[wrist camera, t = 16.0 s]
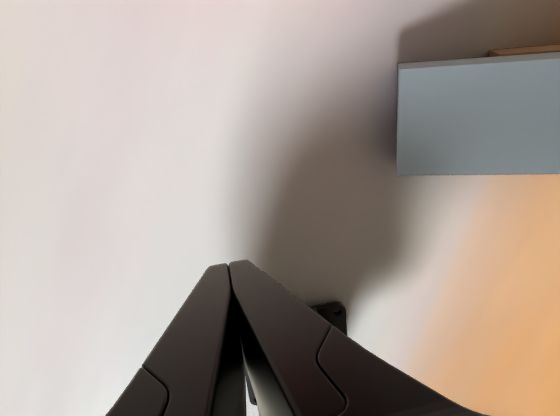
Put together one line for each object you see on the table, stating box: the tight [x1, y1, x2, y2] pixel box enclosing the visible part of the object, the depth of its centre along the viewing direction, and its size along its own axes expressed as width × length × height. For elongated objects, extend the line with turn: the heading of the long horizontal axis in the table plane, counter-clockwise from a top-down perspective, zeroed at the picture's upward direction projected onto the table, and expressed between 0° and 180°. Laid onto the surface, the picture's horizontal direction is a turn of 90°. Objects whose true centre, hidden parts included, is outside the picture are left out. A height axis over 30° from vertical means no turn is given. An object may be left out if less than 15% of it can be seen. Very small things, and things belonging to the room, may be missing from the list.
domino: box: [396, 52, 560, 176], centre depth 19 cm, size 5×2×8 cm
